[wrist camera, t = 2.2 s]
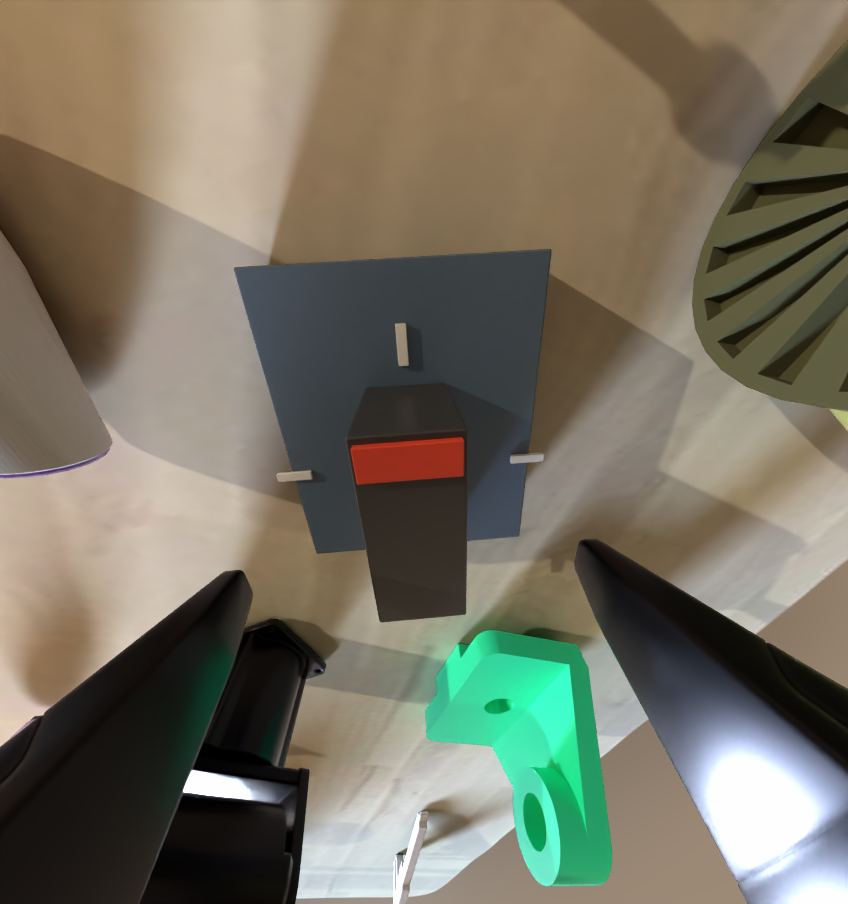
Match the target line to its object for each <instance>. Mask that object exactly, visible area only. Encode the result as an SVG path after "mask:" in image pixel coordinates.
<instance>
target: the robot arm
mask: <svg viewBox="0 0 848 904" xmlns="http://www.w3.org/2000/svg"><path fill="white" fill-rule="evenodd" d="M574 564H575V570H576V572H577V575H578V577H579V579H580V582H581V584H582V587H583V589H584V591H585V594H586V596H587V599H588V601H589V603H590V606H591V608H592V610H593V613H594V615H595V618H596V620H597V622H598V624H599V626H600V628H601V630H602V632H603V634H604V636H605V638H606V640H607V642H608V644H609V646H610V647H611V649H612V651H613V653H614V655H615V657H616V659H617V661H618V662H619V664H620V666H621V668H622V670H623V672H624V674H625V675H626V677H627V679H628V681H629V683H630V685H631V687H632V688H633V690H634V692H635V694H636V696H637V698H638V700H639V701H640V703H641V705H642V707H643V709H644V711H645V713H646V715H647V716H648V718H649V720H650V722H651V724H652V726H653V727H654V729H655V731H656V733H657V735H658V737H659V739H660V741H661V742H662V744H663V746H664V748H665V750H666V752H667V754H668V755H669V757H670V759H671V761H672V763H673V765H674V766H675V769H676V770H677V772H678V774H679V776H680V778H681V780H682V781H683V783H684V785H685V787H686V788H687V791H688V793H689V794H690V796H691V798H692V800H693V802H694V804H695V806H696V807H697V809H698V811H699V813H700V815H701V817H702V819H703V821H704V822H705V824H706V826H707V828H708V830H709V832H710V833H711V836H712V837H713V839H714V841H715V843H716V845H717V847H718V849H719V850H720V852H721V854H722V856H723V858H724V859H725V862H726V863H727V865H728V867H729V869H730V871H731V873H732V875H733V876H734V878H735V880H736V881H737V882H738V886H739V888H740V890H741V892H742V894H743V896H744V897H745V899H746V901H747V903H748V904H848V689H847V688H845V687H843V686H842V685H840V684H838V683H836V682H835V681H833V680H831V679H829V678H828V677H826V676H824V675H823V674H821V673H819V672H818V671H816V670H814V669H812V668H811V667H809V666H807V665H805V664H804V663H802V662H801V661H799V660H797V659H795V658H794V657H792V656H790V655H789V654H787V653H785V652H784V651H782V650H780V649H779V648H777V647H775V646H774V645H772V644H770V643H766V642H765V640H764V639H762V638H760V637H759V636H757V635H755V634H754V633H752V632H750V631H749V630H747V629H745V628H744V627H742V626H740V625H739V624H737V623H735V622H734V621H732V620H730V619H729V618H727V617H726V616H724V615H722V614H721V613H719V612H717V611H716V610H714V609H712V608H711V607H709V606H707V605H706V604H704V603H702V602H701V601H699V600H697V599H696V598H694V597H692V596H691V595H689V594H687V593H686V592H684V591H682V590H681V589H679V588H677V587H676V586H674V585H672V584H671V583H669V582H667V581H666V580H664V579H663V578H661V577H659V576H658V575H656V574H654V573H653V572H651V571H649V570H648V569H646V568H644V567H643V566H641V565H639V564H638V563H636V562H634V561H633V560H631V559H629V558H628V557H626V556H624V555H623V554H621V553H619V552H618V551H616V550H614V549H613V548H611V547H609V546H608V545H606V544H605V543H603V542H601V541H599V540H598V539H584V540H581V541H580V542H579V544H578V548H577V553H576V557H575V562H574ZM252 598H253V593H252V589H251V587H250V585H249V582H248V580H247V578H246V576H245V574H244V572H243V571H241V570H233V571H225V572H223V573H222V574H220V575H219V576H218V577H216V578H215V579H214V580H213V581H211V582H210V583H209V584H208V585H206V586H205V587H204V588H202V589H201V590H200V591H199V592H197V593H196V594H195V595H194V596H192V597H191V598H190V599H188V600H187V601H186V602H185V603H183V604H182V605H181V606H180V607H178V608H177V609H176V610H174V611H173V612H172V613H171V614H169V615H168V616H167V617H165V618H164V619H163V620H162V621H160V622H159V623H158V624H157V625H155V626H154V627H153V628H151V629H150V630H149V631H148V632H146V633H145V634H144V635H143V636H141V637H140V638H139V639H137V640H136V641H135V642H134V643H132V644H131V645H130V646H129V647H127V648H126V649H125V650H123V651H122V652H121V653H120V654H118V655H117V656H116V657H115V658H113V659H112V660H111V661H109V662H108V663H107V664H106V665H104V666H103V667H102V668H100V669H99V670H98V671H97V672H95V673H94V674H93V675H92V676H90V677H89V678H88V679H86V680H85V681H84V682H83V683H81V684H80V685H79V686H78V687H76V688H75V689H74V690H72V691H71V692H70V693H69V694H67V695H66V696H65V697H63V698H62V699H61V700H60V701H58V702H57V703H56V704H55V705H53V706H52V707H51V708H49V709H48V710H47V711H46V712H45V713H44V715H43V716H39V717H38V718H37V719H35V720H34V721H33V722H31V723H30V724H29V725H28V726H26V727H25V728H24V729H23V730H21V731H20V732H19V733H17V734H16V735H15V736H14V737H12V738H11V739H10V740H8V741H7V742H6V743H5V744H3V745H2V746H1V747H0V904H295V901H296V895H297V890H298V882H299V874H300V864H301V854H302V844H303V833H304V823H305V813H306V802H307V792H308V782H309V769H304V768H299V769H298V770H297V769H290V768H284V765H285V761H286V757H287V753H288V749H289V745H290V741H291V737H292V733H293V729H294V725H295V721H296V717H297V713H298V709H299V705H300V701H301V697H302V693H303V689H304V685H305V681H306V679H308V678H312V677H315V676H318V675H321V674H323V673H324V672H325V668H326V664H325V663H324V662H323V661H322V660H321V659H320V658H319V657H318V656H317V655H316V654H315V653H314V652H313V651H312V650H311V649H310V648H309V647H308V646H306V645H305V644H304V643H303V642H302V641H301V640H300V639H299V638H298V637H297V636H296V635H295V634H294V633H293V632H292V631H291V630H290V629H289V628H287V627H286V626H285V625H284V624H283V623H282V622H281V621H280V620H278V619H270V620H267V621H264V622H261V623H258V624H256V625H253V626H250V627H247V628H244V627H245V623H246V620H247V616H248V613H249V609H250V606H251V602H252Z"/></svg>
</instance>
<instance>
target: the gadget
mask: <svg viewBox="0 0 848 904" xmlns="http://www.w3.org/2000/svg"><path fill="white" fill-rule="evenodd" d="M345 441H346V447H347V452H348V457H349V462H350V468H351V473H352V478H353V483H354V489H355V494H356V499H357V505H358V510H359V515H360V520H361V526H362V531H363V536H364V541H365V547H366V552H367V557H368V563H369V568H370V573H371V578H372V584H373V589H374V594H375V599H376V605H377V610H378V615H379V620H380V622H391V621H402V620H413V619H424V618H434V617H445V616H456V615H465V614H466V576H467V493H468V429H467V427H466V424H465V422H464V420H463V418H462V416H461V414H460V412H459V410H458V408H457V406H456V404H455V402H454V400H453V398H452V396H451V394H450V391H449V389H448V387H447V385H446V383H431V384H417V385H402V386H388V387H374V388H366V389H365V391H364V393H363V396H362V398H361V401H360V403H359V406H358V408H357V411H356V413H355V416H354V418H353V421H352V423H351V426H350V428H349V431H348V433H347V435H346V438H345Z"/></svg>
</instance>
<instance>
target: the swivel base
mask: <svg viewBox="0 0 848 904" xmlns="http://www.w3.org/2000/svg"><path fill="white" fill-rule="evenodd" d="M550 260H551V249H541V250H524V251H507V252H490V253H472V254H455V255H438V256H421V257H403V258H386V259H369V260H352V261H334V262H317V263H300V264H283V265H265V266H248V267H235V268H234V271H235V275H236V278H237V282H238V285H239V288H240V292H241V295H242V299H243V302H244V306H245V309H246V313H247V316H248V319H249V323H250V326H251V330H252V333H253V337H254V340H255V343H256V347H257V350H258V354H259V357H260V361H261V364H262V368H263V371H264V374H265V378H266V381H267V385H268V388H269V392H270V395H271V398H272V402H273V405H274V409H275V412H276V416H277V419H278V422H279V426H280V429H281V433H282V436H283V440H284V443H285V447H286V450H287V453H288V457H289V460H290V464H291V467H292V471H293V472H283V473H277V478H278V481H279V482H284V481H296V484H297V488H298V491H299V495H300V498H301V502H302V505H303V508H304V512H305V515H306V519H307V522H308V526H309V529H310V532H311V536H312V539H313V543H314V546H315V550H316V553H317V554H319V553H331V552H343V551H355V550H366V547H365V541H364V536H363V531H362V526H361V520H360V515H359V510H358V505H357V499H356V494H355V489H354V483H353V478H352V473H351V468H350V462H349V457H348V452H347V447H346V441H345V438H346V435H347V433H348V431H349V428H350V426H351V423H352V421H353V418H354V416H355V413H356V411H357V408H358V406H359V403H360V401H361V398H362V396H363V393H364V391H365V389H366V388H374V387H388V386H402V385H417V384H431V383H446V385H447V387H448V389H449V391H450V394H451V396H452V398H453V400H454V402H455V404H456V406H457V408H458V410H459V412H460V414H461V416H462V418H463V420H464V422H465V424H466V427H467V429H468V493H467V541H471V540H483V539H495V538H506V537H518V536H519V532H520V524H521V515H522V506H523V497H524V488H525V480H526V471H527V462H539V461H543V460H544V453H543V452H541V453H529V444H530V436H531V427H532V418H533V409H534V400H535V392H536V383H537V374H538V365H539V356H540V348H541V339H542V330H543V321H544V312H545V304H546V295H547V286H548V277H549V269H550Z"/></svg>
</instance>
